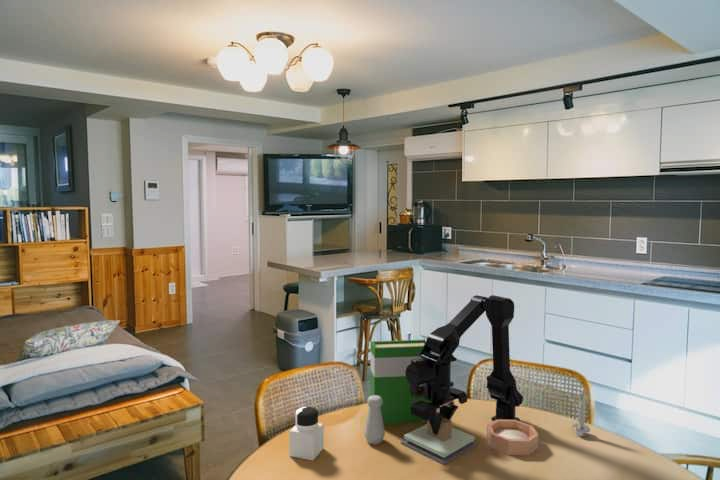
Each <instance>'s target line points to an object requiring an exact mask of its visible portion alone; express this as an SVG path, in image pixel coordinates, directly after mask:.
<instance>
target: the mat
mask: <svg viewBox="0 0 720 480" xmlns="http://www.w3.org/2000/svg"><path fill="white" fill-rule="evenodd" d="M400 444H401V445H403V446H404V447H406V448H408V449H411V450H413V451H415V452H417V453H418V454H421V455H423V456H426V457H427V458H429V459H431V460H433V461H435V462H437V463H439V464H441V465H442V466H445V465H446V464H448V463H449V462H451V461H453V460H455V459H456V458H459V456H462V455H464V454H465V453H466V452H468V451H470V450H472V449H473V448H475V447H477V445H478V444H477V442H474V441H472V442H471V443H469V444H467V445H465V446H464V447H462V448H460V449H458V450H457V451H455V452H453V453H452V454H450V455H448V456H446V457H445V458H444V457H441V456H439V455H437V454H435V453H433V452H431V451H429V450H427V449H425V448H423V447H421V446H418V445H416V444H414V443H412V442H410V441H408V440H406V439H403V440H402V441H400Z"/></svg>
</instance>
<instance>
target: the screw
mask: <svg viewBox="0 0 720 480" xmlns="http://www.w3.org/2000/svg"><path fill="white" fill-rule="evenodd" d="M579 394H580V395H579V402H578V417H577V419H578V420H577V423H574V424H573V425H572V426H571V428H572V429H573V430H574V431H575V434H576V436H578V437H580V438H581V437H582V438H584V437H586V436H587V433H590V432H591V428H590V427H589V426H588V425H586V422H585V420H586V393H585V392H583V391H581V392H580V393H579Z"/></svg>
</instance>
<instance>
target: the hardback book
mask: <svg viewBox="0 0 720 480" xmlns="http://www.w3.org/2000/svg"><path fill="white" fill-rule="evenodd" d="M425 342H426V339H405V340H404V339H402V340H377V341H376V340H373V341H370V368H369V370H370V374H369V375H370V376H369V377H370V380H369V381H370V383H369V387H370V388H369V391H370V392H369V397H370V396H372V395H378V396H380V397H381V398H382V400H383V403H382V406H380V408H381V414H382V419H383V425H384V426H386V425H387V426H389V425H398V424H399V425H400V424H401V425H403V424H404V425H405V424H415V423H416V424H417V423H428V420H424V419H422V418H419V417H417V416H415V415H412V414H411V405H412V404H414V403H416V402H419V401H424V402H426V403H429V402H430V400H426V399H424V397H418V398H415V396H412V395H411V393H410V385H411V384H410V383H409V382H408V381H407V378H406V373H405V371H406V368H407V366H408V365H410V364H411V360H412V359H420V358H422V357H419V354H420V352H421V350H422V348H423V346H424V344H425ZM429 353H431V354H432V352H431V351H430V352H429Z"/></svg>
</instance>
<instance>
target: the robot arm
mask: <svg viewBox="0 0 720 480" xmlns="http://www.w3.org/2000/svg"><path fill="white" fill-rule="evenodd" d="M484 313H485V316H486V318H487V320H488V322H489V323H490V326H491V342H492V343H491V345H492V347H491V348H492V368H493V369H492V371H491V373H490V374H489V375H487V376H486V389H487V391H488V393H489V397H490V399H494V400H495V401H496V403H495V415H494V416H492V417H490V418H491V421H495V420H497V419H503V420H517V421H520V420H521V419H520V418H519V417H516V407H517V408H518V407H520V406H521V405H522V404H523V401H524V396H523V395H522V394H521V392H519V390H518V388H517V387H518V386H517V381H516V378H515V376H514V375H513V373H512V372H511V362H510V361H511V357H510V330H509V326H510V324H511V323H512V321H513V319H514V317H515V303H514V301H513V300H512V299H511V298H509V297H503V296H499V295H494V294H493V295H492V294H491V295H489V296H482V295H478V294H476V295H473V296H472V297H471V298H470V301H469V302H468V303H467V304H466V305H465V306H464V307H463V308H462V309H461V310H460V311H459V312H458V313H457V314H456V315H455V316H454V317H453V319H451V320H449V322H448V323H447V324H445V325H443V326H440V327H437V328H436V329H435V330H433V331H432V332H430V333H429V335H428V336H427V338H426V340H425V344H424V346H423V348H422V350H421V352H420V354H419V357H422V358H420V359H412V360H411V364H410V365H408V366H407V368H406V371H405V373H406V378H407V381H408V382H409V383H410V384H411V385H410V393H411V395H412V396H415V398H418V397H424V399H426V400H430V402H429V403H426V402H424V401H419V402H416V403H414V404H412V405H411V414H412V415H415V416H417V417H419V418H422V419H424V420H429V422H430V425H431V428H432V431H433V433H434V434H435V435H437V434H438V431H439V428H440V424H441V421H442V417H444V418H446V419H449V420H451V421H452V418H453V416H454V414H455V413H456V411H457V410H458V409H459V406H458V405H457V404H455V400H458V403H459V404H461V405H464V404H465V403H468V394H467V393H466V391H464V390H461V389H458V388H455V387H454V384H455V383H454V382H453V381H451V371H452V368H451V367H452V363H453V362H457V357H456V356H454V355H453V354H454V353H455V351H456V350H457V348H458V347H459V345H460V342H461V341H460V340H461V337H462V336H463V335H464V334H465V333H466V332H467V331H468V330H469V329H470V328H471V327H472V326H473V325H474V323H476V321H478V319H479V318H480V317H481V316H482V315H483V314H484ZM430 351H431V353H429V352H430Z"/></svg>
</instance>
